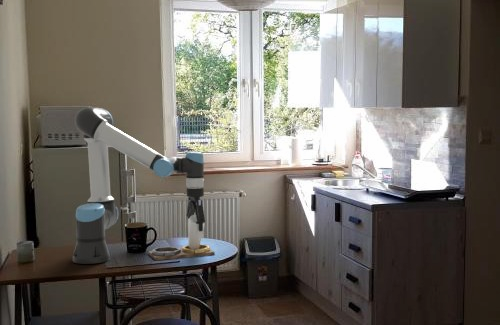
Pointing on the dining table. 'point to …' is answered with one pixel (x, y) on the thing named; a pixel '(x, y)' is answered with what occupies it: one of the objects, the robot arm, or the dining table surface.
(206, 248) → the far collar
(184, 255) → the walnut board
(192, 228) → the drinking glass
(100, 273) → the dining table surface
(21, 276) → the dining table surface
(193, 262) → the dining table surface
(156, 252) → the near collar
